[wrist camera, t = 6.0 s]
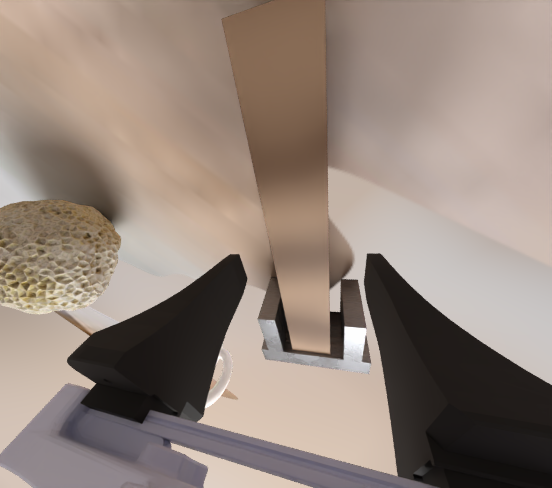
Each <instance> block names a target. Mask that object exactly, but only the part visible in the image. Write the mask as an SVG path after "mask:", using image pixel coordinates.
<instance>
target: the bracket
mask: <svg viewBox="0 0 552 488" xmlns="http://www.w3.org/2000/svg"><path fill="white" fill-rule="evenodd" d="M258 322H259V324H260V327H261V330H262V333H263V335H264V342H263V346H262V351H263V354H264V356H265V359H267V360H275V361H281V362H288V363H296V364H303V365H310V366H317V367H324V368H331V369H338V370H345V371H352V372H359V373H366V374H369V372H370V366H371V360H370V354H369V348H368V344H367V337H366V329H367V328H366V323H365V317H364V312H363V307H362V301H361V295H360V290H359V284H358V280H346V279H341V302H340V312H330V354H322V353H314V352H306V351H298V350H293V349H292V344H291V339H290V335H289V330H288V325H287V321H286V316H285V311H284V307H283V302H282V297H281V293H280V288H279V284H278V279H277V278H271V279H270V282H269V285H268V289H267V292H266V295H265V299H264V301H263V304H262V307H261V311H260V313H259V317H258Z"/></svg>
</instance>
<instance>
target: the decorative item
mask: <svg viewBox="0 0 552 488" xmlns="http://www.w3.org/2000/svg"><path fill="white" fill-rule="evenodd" d="M120 245H121V238H120V236H119V235H118V233H117V232H115V229H114V227H113V225H112V223H111V222H110V221H109V220H108V219H106V217H104V216H103V215H102V214H101V213H100V212H99V211H98V210H96V209H95V208H94V207H90V206H86V205H78V204H75V203H71V202H69V201H64V200H40V201H22V202H18V203H13V204H9V205H6V206H4V207H2V208H0V305H2V306H7V307H11V308H14V309H18V310H21V311H23V312H26V313H30V314H37V315H38V314H46V313H50V312H52V311H61V310H68V311H74V310H76V309H82V308H85V307H87V306H88V305H90V304H92V303H93V302H95V300H96V299H97V298H99V296H101V295H102V294H103V293H104V291H105V290H106V288H107V287H108V285H109V281H110V278H111V276H112V274H113V273H114V269H115V267H116V265H117V263H118V256H117V252H118V250H119V248H120Z"/></svg>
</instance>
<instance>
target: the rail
mask: <svg viewBox="0 0 552 488" xmlns="http://www.w3.org/2000/svg"><path fill="white" fill-rule="evenodd" d="M222 23H223V28H224V32H225V37H226V42H227V46H228V51H229V56H230V60H231V65H232V70H233V74H234V79H235V84H236V88H237V93H238V98H239V102H240V107H241V111H242V116H243V121H244V125H245V130H246V135H247V139H248V144H249V149H250V153H251V158H252V163H253V167H254V172H255V177H256V181H257V186H258V191H259V195H260V200H261V204H262V209H263V214H264V218H265V223H266V228H267V232H268V237H269V242H270V246H271V251H272V256H273V260H274V265H275V270H276V274H277V279H278V284H279V288H280V293H281V297H282V302H283V307H284V311H285V316H286V321H287V325H288V330H289V335H290V339H291V344H292V349H293V350H298V351H306V352H314V353H322V354H330V303H329V233H328V165H327V97H326V29H325V0H273V1H270V2H268V3H265V4H262V5H259V6H256V7H254V8H251V9H248V10H245V11H242V12H239V13H237V14H234V15H231V16H228V17H225V18H223V19H222Z"/></svg>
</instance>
